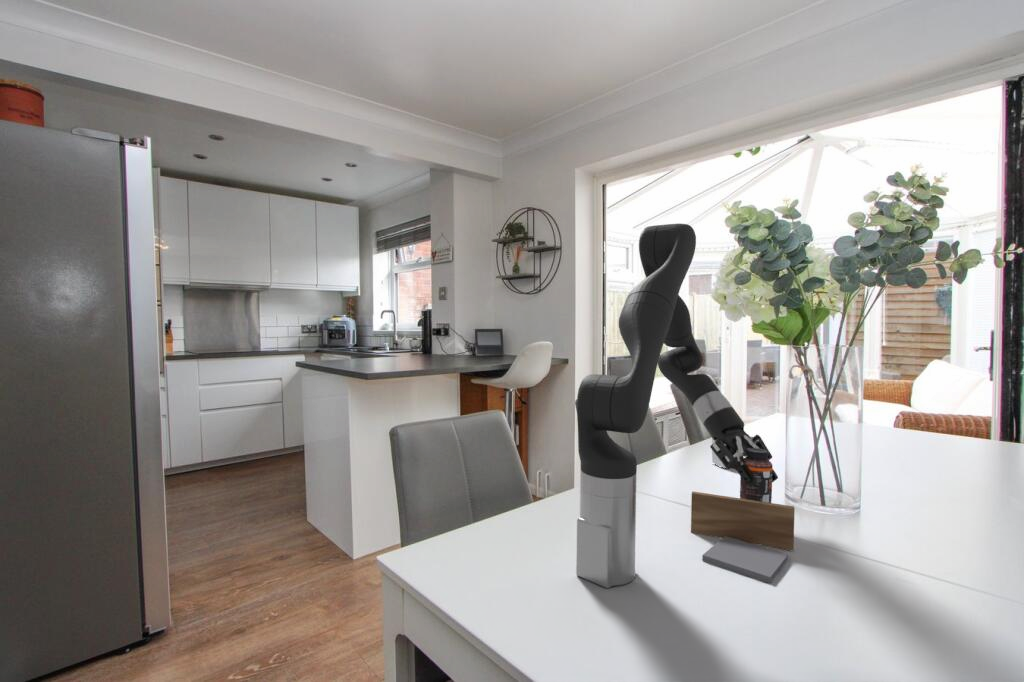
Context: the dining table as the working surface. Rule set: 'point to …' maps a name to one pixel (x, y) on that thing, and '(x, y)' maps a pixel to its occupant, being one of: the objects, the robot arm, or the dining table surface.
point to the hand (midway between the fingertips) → (763, 482)
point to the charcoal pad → (746, 558)
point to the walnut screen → (743, 520)
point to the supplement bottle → (758, 476)
